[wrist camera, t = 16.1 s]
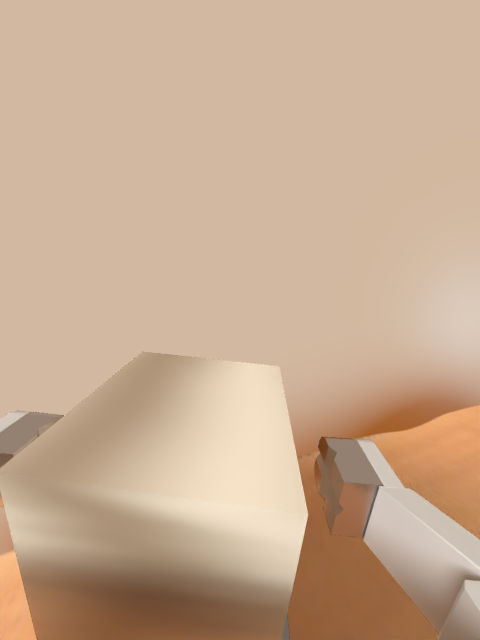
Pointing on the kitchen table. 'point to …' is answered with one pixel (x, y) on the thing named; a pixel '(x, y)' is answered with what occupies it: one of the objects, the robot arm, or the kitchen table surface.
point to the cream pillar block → (162, 507)
